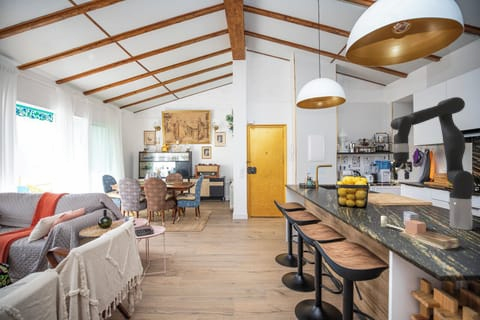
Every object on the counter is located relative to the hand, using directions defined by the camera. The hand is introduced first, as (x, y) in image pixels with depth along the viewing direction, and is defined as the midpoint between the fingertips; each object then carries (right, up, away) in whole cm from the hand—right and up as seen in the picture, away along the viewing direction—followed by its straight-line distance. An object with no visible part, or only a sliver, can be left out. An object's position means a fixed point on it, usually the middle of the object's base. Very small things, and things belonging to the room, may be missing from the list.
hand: (401, 179), depth 131 cm
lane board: (-2, -28, -20) cm, 35 cm away
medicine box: (+6, -28, +1) cm, 29 cm away
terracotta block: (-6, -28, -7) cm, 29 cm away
